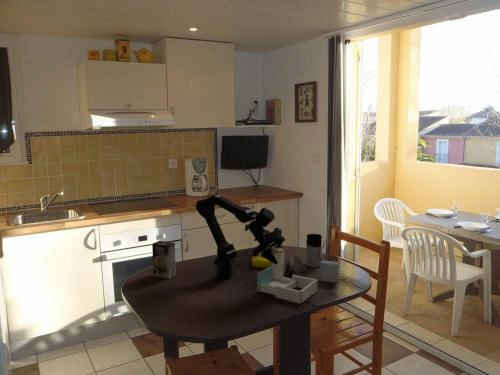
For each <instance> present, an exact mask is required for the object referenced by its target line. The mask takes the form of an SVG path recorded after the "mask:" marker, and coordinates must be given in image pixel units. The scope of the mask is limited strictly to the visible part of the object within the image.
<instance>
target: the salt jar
mask: <svg viewBox="0 0 500 375" xmlns="http://www.w3.org/2000/svg"><path fill="white" fill-rule="evenodd" d="M271 250H272V251H271V252H272V254H273V255H274V257H275V259H276V260H277V262H278V264H274V263H272V277H273V278H283V277H285V271H284V268H285V260H284V259H285V249H284V248H282V247H281V248H273V249H272V248H271Z"/></svg>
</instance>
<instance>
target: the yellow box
mask: <svg viewBox="0 0 500 375" xmlns="http://www.w3.org/2000/svg"><path fill="white" fill-rule="evenodd" d="M260 255H261V252H260V253H259V256H257V257H254V256H253V255H252V256H253V257H252V259H251V267H252V268H254V267H255V268H256V269H267V268H268V267H270V266H272V262H271V261H269V260H267V259H265V258H263V257H260ZM255 268H254V269H255Z"/></svg>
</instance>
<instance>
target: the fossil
mask: <svg viewBox="0 0 500 375" xmlns="http://www.w3.org/2000/svg"><path fill="white" fill-rule="evenodd" d="M307 271H308V270H307V265H306V264H305V263H303V261H302V260H301V259H300V258H299V256H295V255H294V256H291V257H290V258H289V259H288V261H287V262H286V264H285V271H284V276H289V275H291V276H292V275H298V276H302V277H305V275H306V274H307Z"/></svg>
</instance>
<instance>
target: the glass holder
mask: <svg viewBox="0 0 500 375" xmlns="http://www.w3.org/2000/svg"><path fill="white" fill-rule="evenodd" d="M322 239H323V238H322V234H319V233H309V234H307V235H306V243H305V245H306V246H305V250H306V251H305V262H304V265H305V266H306V267H307V266H308V267H310V268H311V267H313V268H317V267H319V268H320V263H321V262H322V261H324V259H326V258H327V257H328V256H330V254H331V252H332V249H333V244H332V242H331V241H330V240H328V239H326V240H325V241H323V245H322ZM326 242H328V243H330V250H329V252H328V253H327V255H325V256H324V257H323V258H322V255H323V254H322V253H323V248H325V243H326Z"/></svg>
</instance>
